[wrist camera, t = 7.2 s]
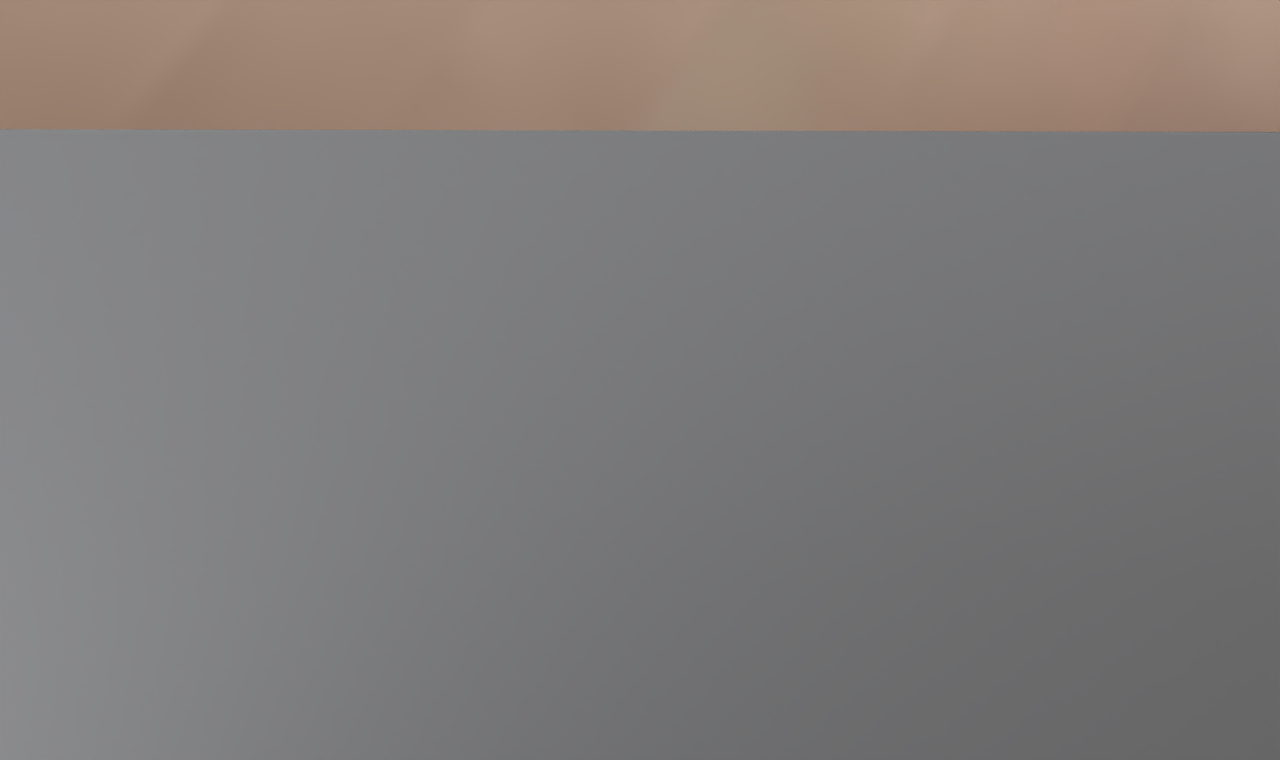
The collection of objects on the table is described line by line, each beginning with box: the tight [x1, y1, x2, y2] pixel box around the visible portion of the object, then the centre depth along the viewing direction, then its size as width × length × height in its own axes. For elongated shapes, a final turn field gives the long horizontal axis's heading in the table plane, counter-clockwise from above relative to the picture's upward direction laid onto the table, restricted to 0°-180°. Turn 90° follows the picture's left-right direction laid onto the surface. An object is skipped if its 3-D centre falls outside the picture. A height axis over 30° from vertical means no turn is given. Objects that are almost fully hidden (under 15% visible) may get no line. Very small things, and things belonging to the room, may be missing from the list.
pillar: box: [0, 129, 1280, 760], centre depth 8 cm, size 5×5×12 cm
